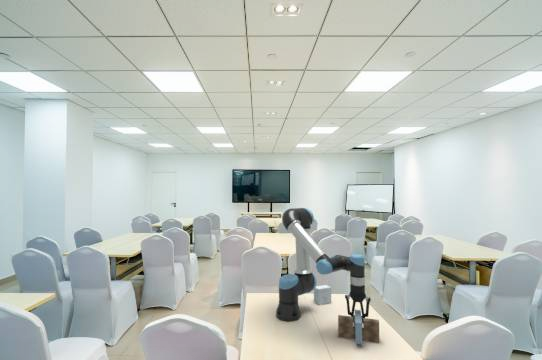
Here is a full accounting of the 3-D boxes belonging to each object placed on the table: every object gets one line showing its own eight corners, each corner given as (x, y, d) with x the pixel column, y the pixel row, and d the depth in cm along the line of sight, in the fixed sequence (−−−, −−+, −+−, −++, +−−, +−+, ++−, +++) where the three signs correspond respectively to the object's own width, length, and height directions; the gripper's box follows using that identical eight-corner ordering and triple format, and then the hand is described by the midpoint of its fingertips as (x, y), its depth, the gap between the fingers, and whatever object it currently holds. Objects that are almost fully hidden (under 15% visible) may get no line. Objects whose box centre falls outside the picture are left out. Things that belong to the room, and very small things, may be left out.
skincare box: (326, 299, 195) (326, 284, 195) (331, 302, 189) (331, 287, 189) (313, 301, 190) (313, 286, 191) (318, 305, 185) (318, 289, 185)
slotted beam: (338, 337, 144) (338, 317, 144) (338, 334, 146) (338, 315, 147) (379, 342, 138) (379, 322, 139) (378, 339, 141) (378, 319, 142)
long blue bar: (355, 343, 135) (355, 322, 135) (355, 328, 150) (354, 309, 151) (362, 344, 134) (361, 323, 135) (360, 329, 150) (360, 310, 150)
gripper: (341, 284, 147) (342, 330, 146) (374, 287, 143) (374, 334, 142) (342, 280, 155) (342, 323, 153) (372, 283, 150) (373, 327, 149)
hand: (358, 328), depth 148 cm, fingers closed on long blue bar, 3 cm apart
